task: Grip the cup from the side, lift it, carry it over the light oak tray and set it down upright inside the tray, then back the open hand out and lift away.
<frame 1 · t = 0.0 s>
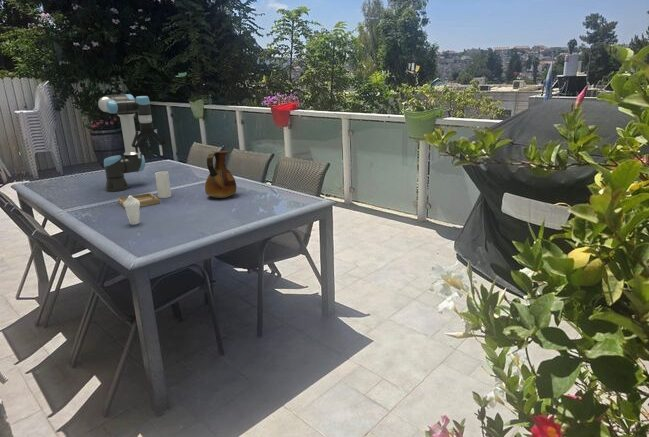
hand: (150, 156, 284), 28 cm above the table, tool pointing down, fingers open, 13 cm apart
tray: (139, 203, 286), on the table
ceramic pitcher: (221, 196, 296), on the table
soft serve ice cream cone: (135, 223, 246), on the table
cup: (164, 196, 301), on the table
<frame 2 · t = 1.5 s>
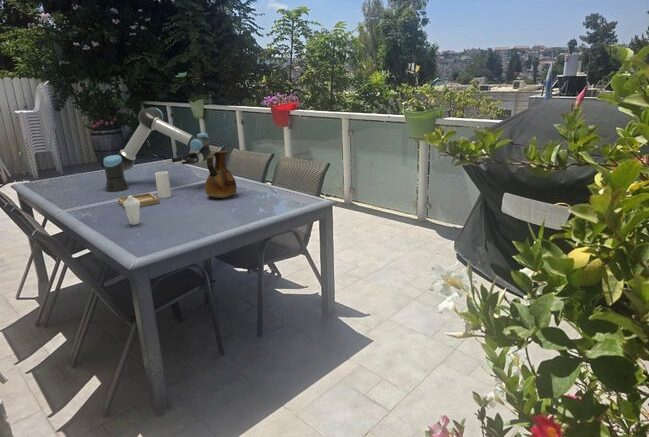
hand: (170, 163, 301), 21 cm above the table, tool horizontal, fingers open, 13 cm apart
nothing on the table moved.
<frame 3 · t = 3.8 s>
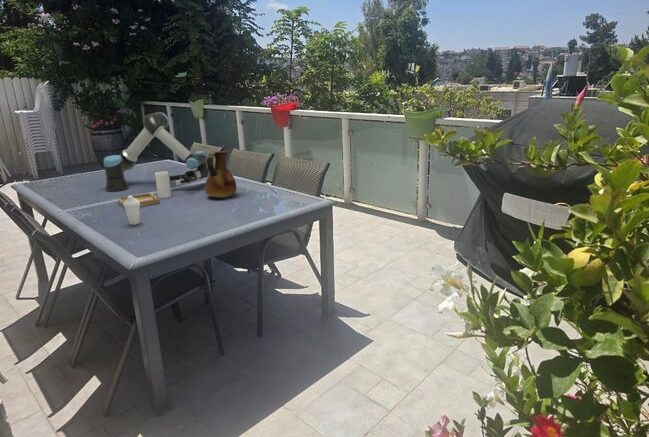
hand: (169, 182, 301), 9 cm above the table, tool horizontal, fingers open, 13 cm apart
nothing on the table moved.
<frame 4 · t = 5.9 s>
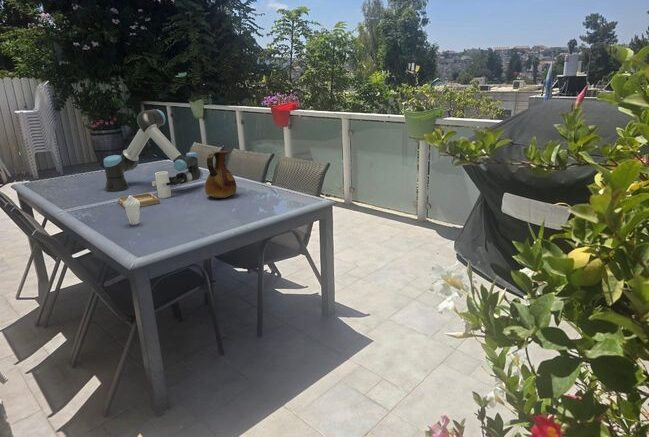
hand: (157, 184, 294), 9 cm above the table, tool horizontal, fingers closed on cup, 8 cm apart
cup: (164, 196, 301), on the table, touching gripper
everything else where it was.
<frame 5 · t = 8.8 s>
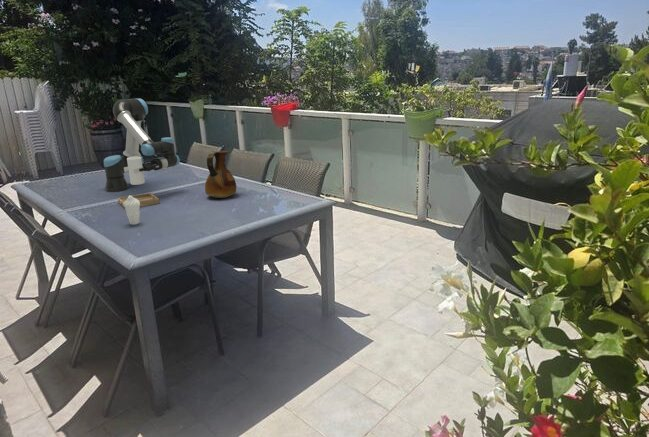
hand: (129, 170, 276), 22 cm above the table, tool horizontal, fingers closed on cup, 8 cm apart
cup: (137, 183, 283), point 13 cm above the table, touching gripper
everything else where it was.
when the fingers open (11 cm above the table, at t = 11.7 s): cup drops 1 cm, resting on tray.
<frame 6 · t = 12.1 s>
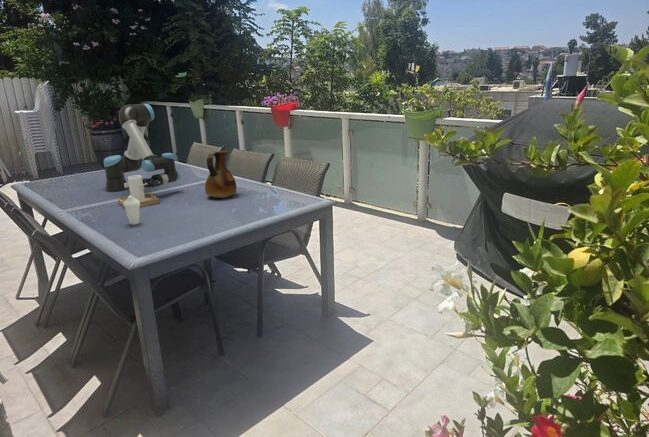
hand: (131, 186, 280), 11 cm above the table, tool horizontal, fingers open, 13 cm apart
cup: (138, 201, 286), point 1 cm above the table, touching tray
everything else where it was.
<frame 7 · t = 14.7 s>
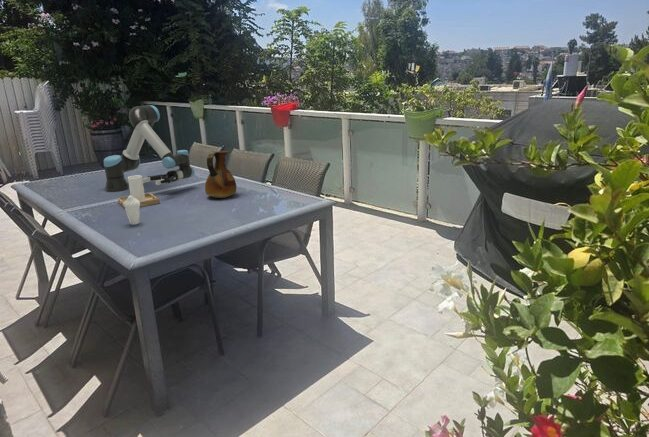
hand: (148, 182, 290), 12 cm above the table, tool horizontal, fingers open, 13 cm apart
nothing on the table moved.
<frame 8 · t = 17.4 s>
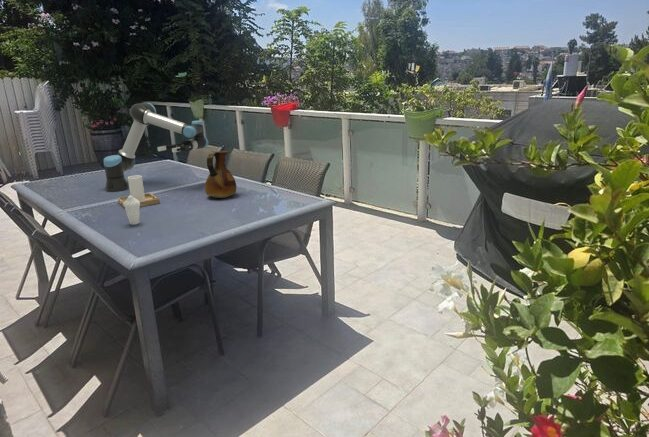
hand: (165, 149, 296), 30 cm above the table, tool horizontal, fingers open, 13 cm apart
nothing on the table moved.
at the end: cup inside the target area on the tray (0.1 cm from its centre), point 0.8 cm above the tray's base; cup tilted 0°; the gripper is holding nothing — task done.
